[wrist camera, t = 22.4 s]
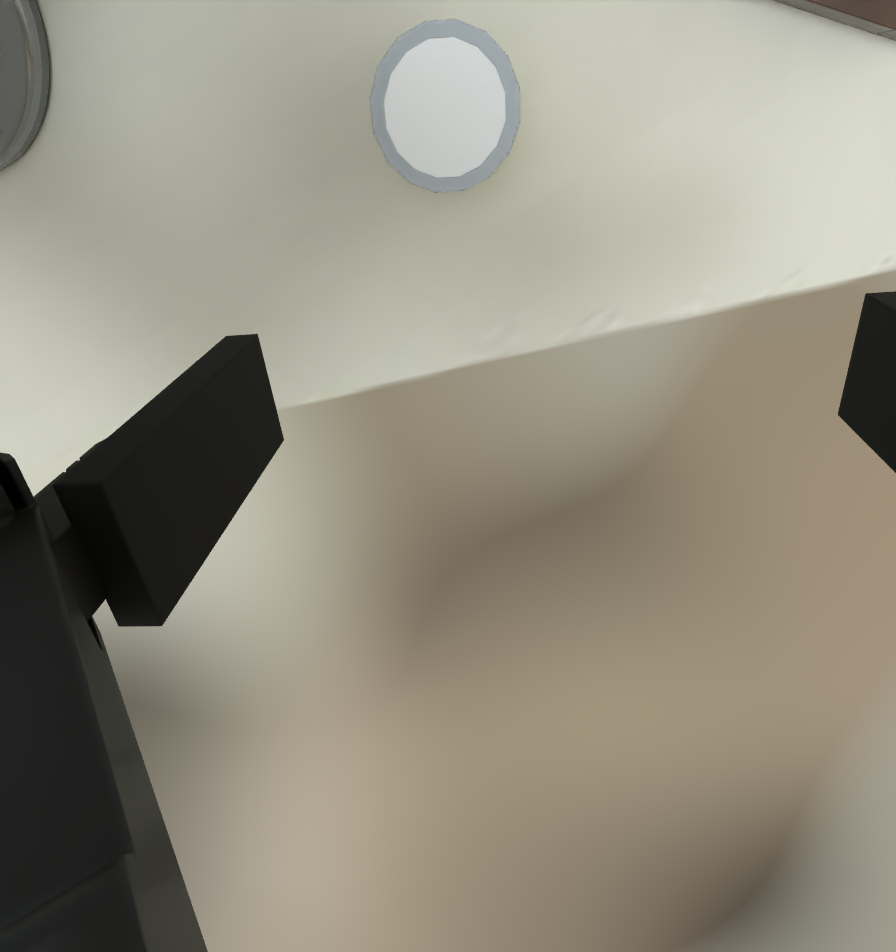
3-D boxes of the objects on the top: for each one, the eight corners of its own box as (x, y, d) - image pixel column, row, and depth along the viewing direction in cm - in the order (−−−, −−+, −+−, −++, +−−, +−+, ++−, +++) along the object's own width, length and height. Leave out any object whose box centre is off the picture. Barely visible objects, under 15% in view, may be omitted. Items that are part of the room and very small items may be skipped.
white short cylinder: (506, 14, 33) (502, -6, 27) (532, 159, 36) (534, 171, 30) (378, 55, 34) (348, 46, 28) (414, 192, 37) (394, 210, 31)
